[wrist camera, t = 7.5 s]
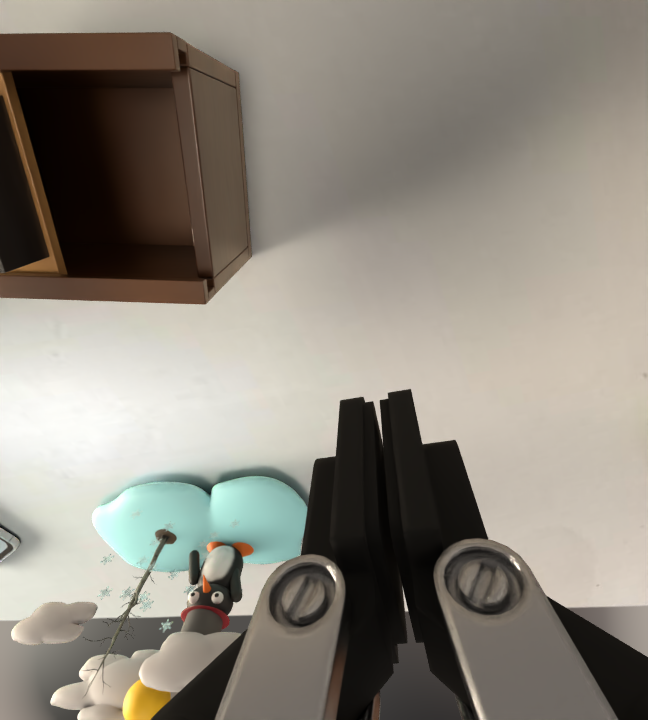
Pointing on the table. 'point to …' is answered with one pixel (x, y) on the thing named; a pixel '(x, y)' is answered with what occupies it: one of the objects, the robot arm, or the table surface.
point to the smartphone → (7, 544)
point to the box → (133, 165)
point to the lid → (23, 196)
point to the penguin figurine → (171, 554)
